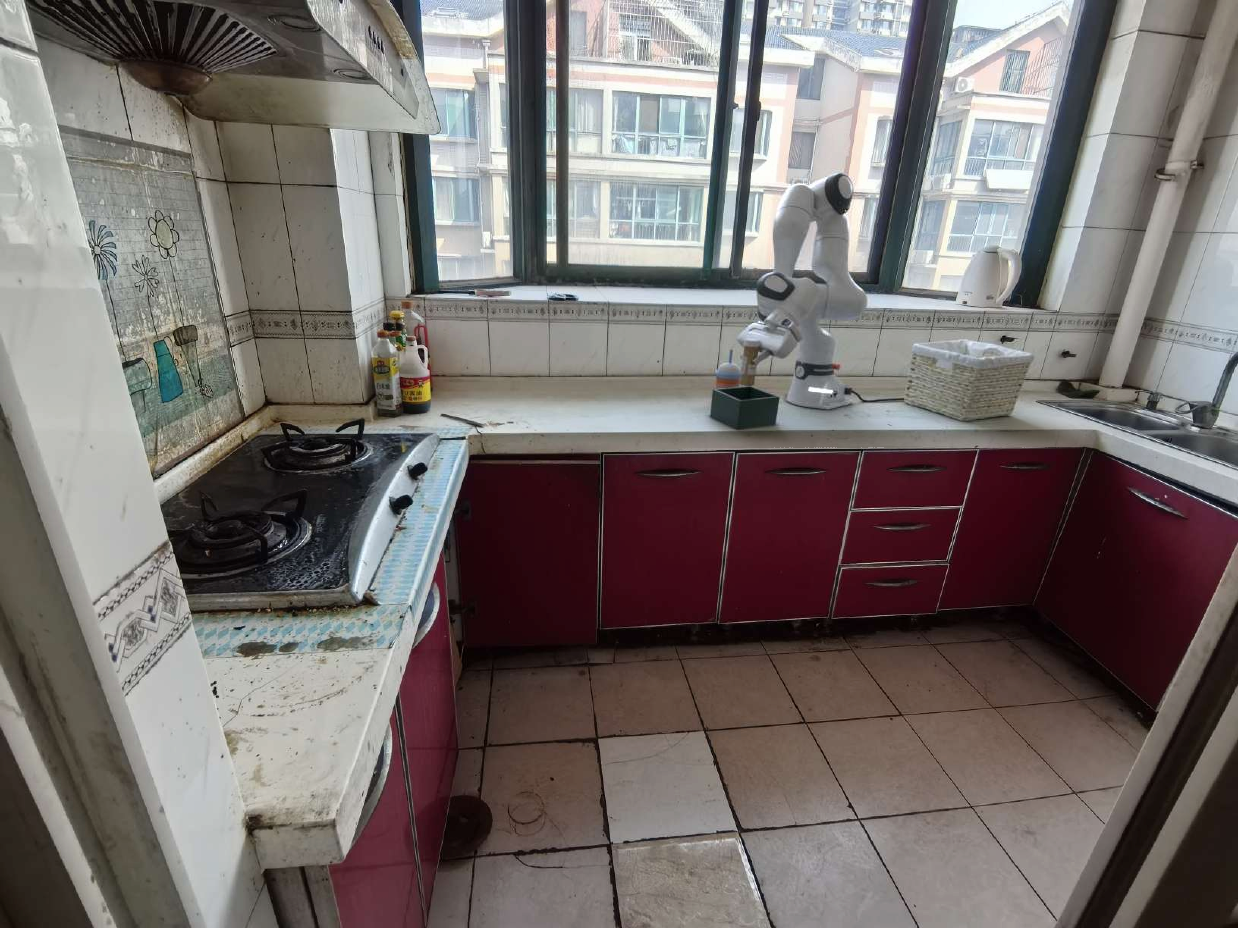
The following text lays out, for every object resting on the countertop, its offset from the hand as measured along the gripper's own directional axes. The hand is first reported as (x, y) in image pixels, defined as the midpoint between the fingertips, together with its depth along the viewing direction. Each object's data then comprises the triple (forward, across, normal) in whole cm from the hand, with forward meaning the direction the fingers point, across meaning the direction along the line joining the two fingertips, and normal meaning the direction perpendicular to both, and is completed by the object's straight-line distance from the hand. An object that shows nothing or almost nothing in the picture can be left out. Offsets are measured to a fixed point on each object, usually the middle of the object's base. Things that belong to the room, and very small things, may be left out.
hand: (748, 361), depth 174 cm
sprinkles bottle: (+5, 0, +6) cm, 7 cm away
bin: (+13, 0, +13) cm, 18 cm away
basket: (-44, +15, +70) cm, 84 cm away
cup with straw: (+8, -17, +18) cm, 26 cm away
